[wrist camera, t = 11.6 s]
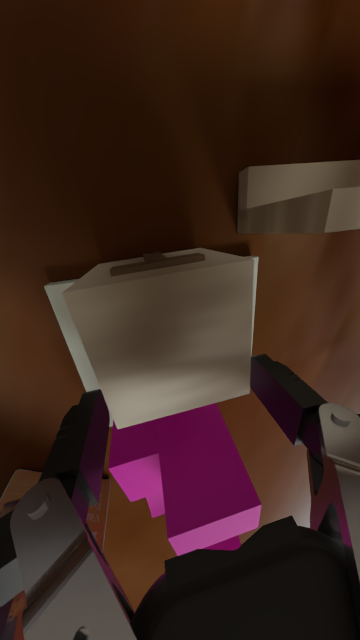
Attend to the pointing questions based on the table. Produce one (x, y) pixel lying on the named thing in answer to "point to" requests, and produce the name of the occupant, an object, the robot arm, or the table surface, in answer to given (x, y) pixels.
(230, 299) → the birch cube
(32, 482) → the small box
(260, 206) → the screen
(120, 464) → the toy block
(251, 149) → the table surface
